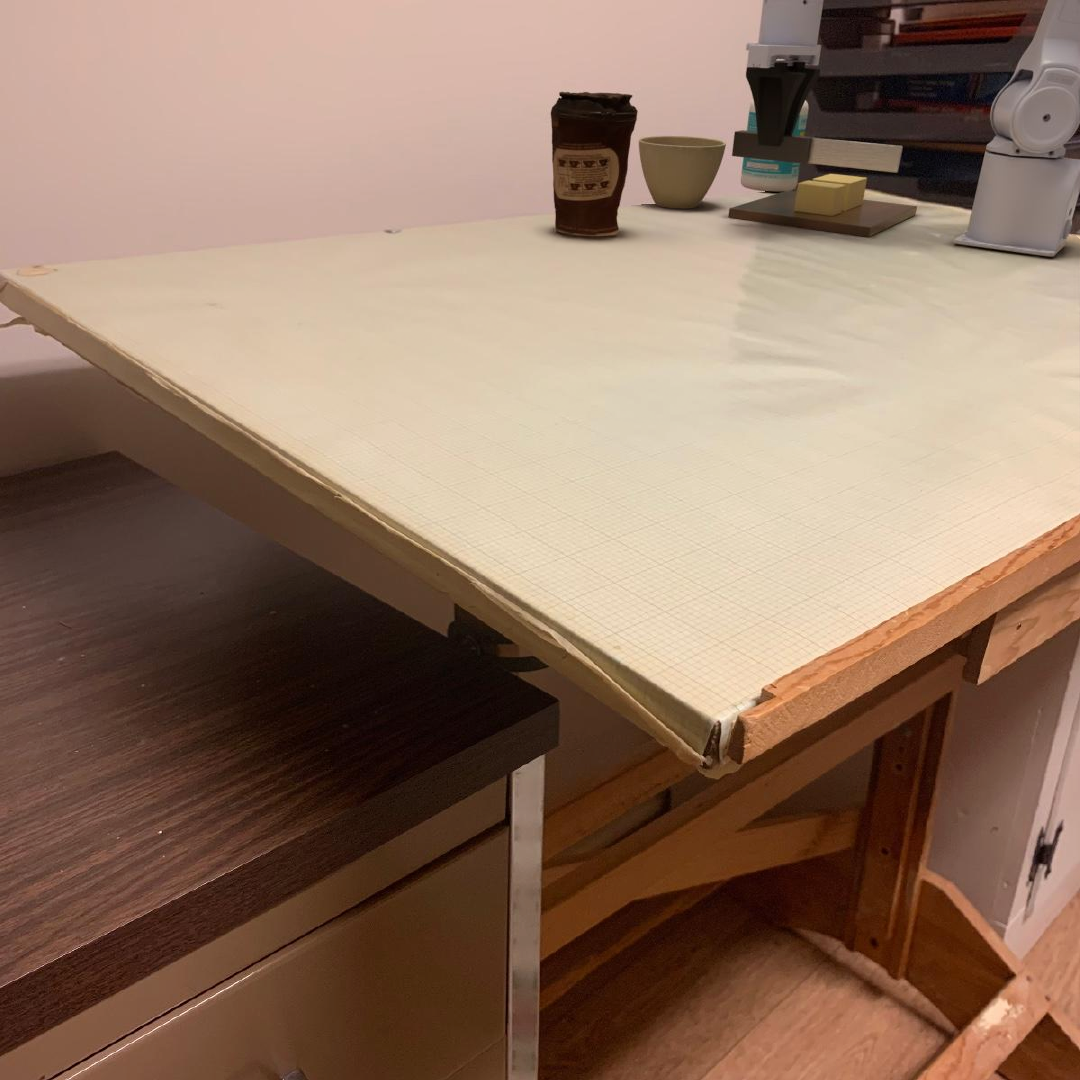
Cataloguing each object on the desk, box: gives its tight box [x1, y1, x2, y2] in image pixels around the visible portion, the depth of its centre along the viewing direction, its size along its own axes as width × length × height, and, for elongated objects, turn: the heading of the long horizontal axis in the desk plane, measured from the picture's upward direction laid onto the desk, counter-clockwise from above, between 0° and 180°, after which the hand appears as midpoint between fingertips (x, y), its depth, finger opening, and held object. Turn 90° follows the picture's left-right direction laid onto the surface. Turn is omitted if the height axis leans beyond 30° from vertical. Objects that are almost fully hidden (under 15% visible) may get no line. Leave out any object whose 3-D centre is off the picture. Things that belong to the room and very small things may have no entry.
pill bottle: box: [740, 99, 810, 193], centre depth 128 cm, size 8×7×14 cm
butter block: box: [812, 173, 868, 211], centre depth 114 cm, size 4×6×3 cm
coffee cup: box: [550, 91, 639, 237], centre depth 97 cm, size 9×8×13 cm
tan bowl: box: [638, 135, 727, 209], centre depth 115 cm, size 10×10×7 cm
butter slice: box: [794, 180, 846, 216], centre depth 109 cm, size 4×3×3 cm
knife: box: [731, 129, 904, 173], centre depth 100 cm, size 17×2×2 cm, turn 57°
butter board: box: [727, 190, 918, 238], centre depth 114 cm, size 16×18×1 cm
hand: (773, 144), depth 102 cm, fingers closed on knife, 2 cm apart
